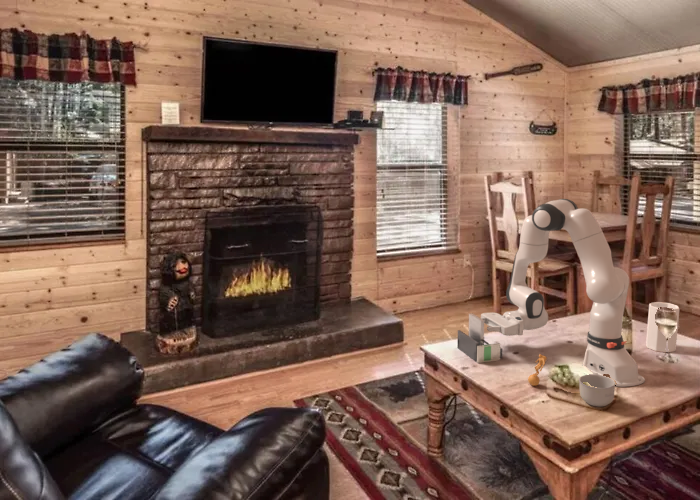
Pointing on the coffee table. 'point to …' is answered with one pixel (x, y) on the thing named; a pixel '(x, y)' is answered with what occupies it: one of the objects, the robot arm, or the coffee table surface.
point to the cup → (654, 336)
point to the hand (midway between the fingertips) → (482, 325)
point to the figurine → (534, 378)
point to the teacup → (597, 389)
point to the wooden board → (476, 329)
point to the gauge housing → (478, 349)
